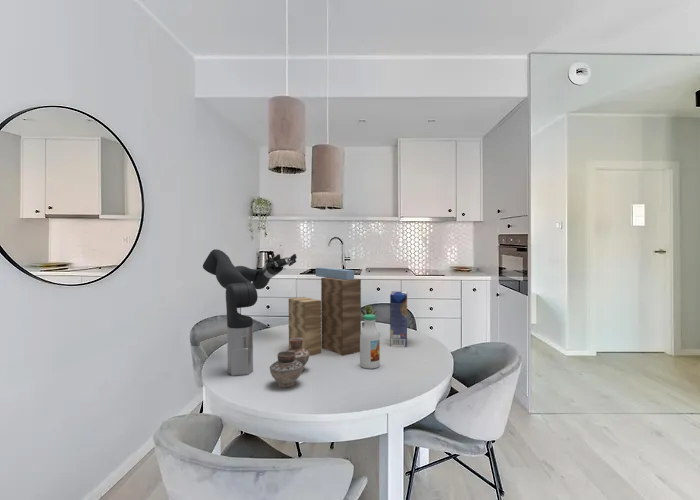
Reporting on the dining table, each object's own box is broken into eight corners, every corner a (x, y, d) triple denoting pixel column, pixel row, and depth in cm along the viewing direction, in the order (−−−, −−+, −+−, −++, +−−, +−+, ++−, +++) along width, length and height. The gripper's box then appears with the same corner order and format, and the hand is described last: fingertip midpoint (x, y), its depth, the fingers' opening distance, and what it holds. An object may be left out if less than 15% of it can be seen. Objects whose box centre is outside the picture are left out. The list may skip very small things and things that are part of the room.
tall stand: (360, 351, 172) (360, 279, 172) (343, 355, 166) (342, 280, 165) (338, 343, 185) (338, 276, 184) (321, 347, 179) (321, 277, 178)
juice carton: (406, 347, 179) (406, 295, 178) (390, 346, 180) (390, 294, 180) (407, 340, 191) (407, 291, 190) (391, 339, 192) (391, 291, 191)
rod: (354, 279, 170) (354, 270, 170) (346, 280, 168) (346, 270, 168) (322, 275, 189) (322, 267, 189) (315, 276, 187) (315, 267, 186)
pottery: (313, 366, 152) (313, 336, 152) (299, 391, 127) (299, 355, 127) (284, 365, 153) (284, 335, 153) (265, 390, 128) (265, 354, 128)
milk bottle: (363, 370, 148) (363, 317, 147) (357, 363, 155) (357, 313, 155) (382, 368, 150) (382, 316, 150) (375, 362, 157) (375, 312, 157)
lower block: (321, 353, 170) (321, 300, 169) (305, 356, 165) (305, 302, 164) (303, 346, 181) (303, 296, 180) (288, 349, 176) (288, 298, 175)
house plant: (350, 332, 207) (349, 302, 207) (374, 330, 211) (374, 300, 211) (358, 339, 194) (358, 306, 193) (384, 337, 198) (384, 304, 197)
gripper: (258, 261, 192) (272, 248, 181) (283, 260, 201) (299, 248, 190) (260, 275, 190) (275, 263, 178) (286, 274, 199) (302, 263, 187)
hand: (287, 255), depth 184 cm, fingers open, 8 cm apart
